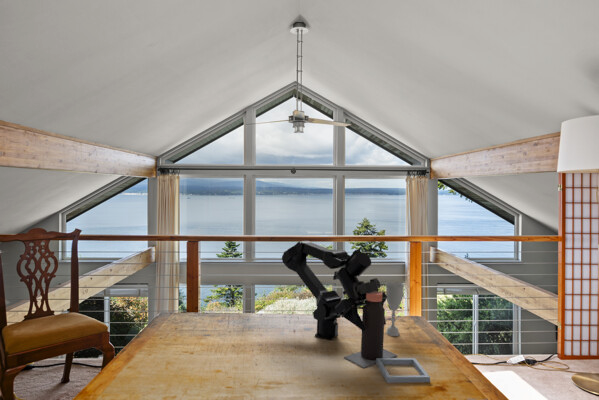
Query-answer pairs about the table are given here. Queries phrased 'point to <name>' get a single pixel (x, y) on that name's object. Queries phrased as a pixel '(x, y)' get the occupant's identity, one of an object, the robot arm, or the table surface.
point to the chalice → (394, 303)
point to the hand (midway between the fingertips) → (374, 327)
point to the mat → (364, 362)
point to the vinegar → (373, 327)
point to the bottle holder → (402, 378)
